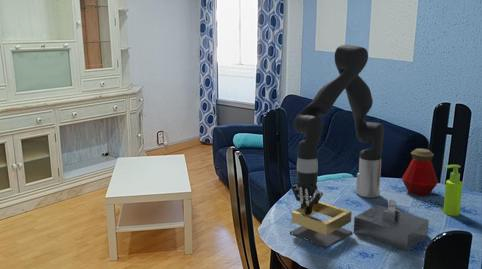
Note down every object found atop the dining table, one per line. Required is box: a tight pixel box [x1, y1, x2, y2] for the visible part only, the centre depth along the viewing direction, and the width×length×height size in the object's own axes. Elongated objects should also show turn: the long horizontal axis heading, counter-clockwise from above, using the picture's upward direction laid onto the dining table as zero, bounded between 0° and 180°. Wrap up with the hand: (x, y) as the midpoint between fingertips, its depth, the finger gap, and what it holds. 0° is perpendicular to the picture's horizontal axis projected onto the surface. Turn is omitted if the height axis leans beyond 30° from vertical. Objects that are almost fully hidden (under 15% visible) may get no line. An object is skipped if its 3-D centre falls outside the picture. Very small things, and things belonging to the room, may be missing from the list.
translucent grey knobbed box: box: [353, 199, 430, 252], centre depth 149 cm, size 20×16×13 cm
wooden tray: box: [291, 200, 352, 235], centre depth 150 cm, size 15×15×4 cm
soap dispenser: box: [442, 164, 464, 217], centre depth 165 cm, size 6×7×20 cm
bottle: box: [401, 148, 439, 197], centre depth 188 cm, size 16×14×20 cm
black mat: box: [289, 226, 353, 249], centre depth 152 cm, size 16×16×1 cm
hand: (306, 213), depth 155 cm, fingers closed on wooden tray
